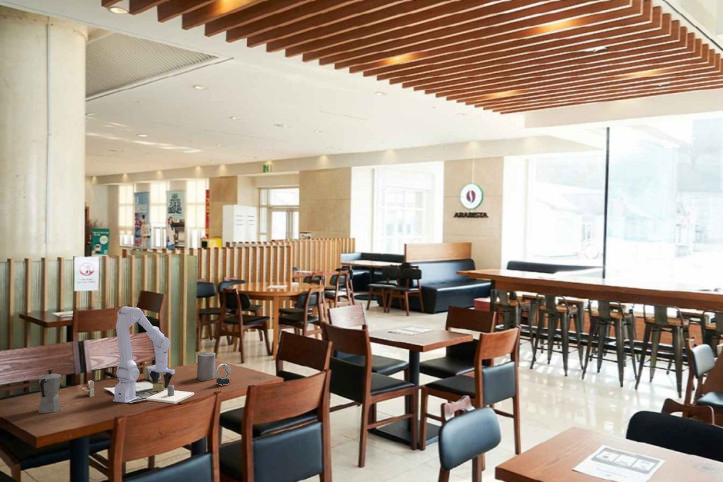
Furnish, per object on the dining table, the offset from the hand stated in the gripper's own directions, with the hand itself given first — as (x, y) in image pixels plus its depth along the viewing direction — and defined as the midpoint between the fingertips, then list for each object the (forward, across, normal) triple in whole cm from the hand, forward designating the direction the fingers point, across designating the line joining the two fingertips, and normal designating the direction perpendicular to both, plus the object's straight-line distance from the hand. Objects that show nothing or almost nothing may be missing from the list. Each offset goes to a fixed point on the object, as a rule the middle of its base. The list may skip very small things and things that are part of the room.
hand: (161, 387), depth 294 cm
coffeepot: (+2, +25, +46) cm, 52 cm away
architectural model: (+2, +26, +20) cm, 33 cm away
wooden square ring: (+2, 0, 0) cm, 2 cm away
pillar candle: (+2, -8, -29) cm, 30 cm away
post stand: (+2, -12, +9) cm, 15 cm away
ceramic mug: (+2, +16, -17) cm, 23 cm away
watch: (+2, -23, -21) cm, 31 cm away
